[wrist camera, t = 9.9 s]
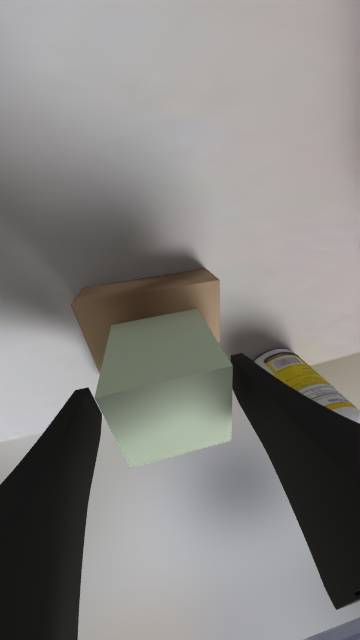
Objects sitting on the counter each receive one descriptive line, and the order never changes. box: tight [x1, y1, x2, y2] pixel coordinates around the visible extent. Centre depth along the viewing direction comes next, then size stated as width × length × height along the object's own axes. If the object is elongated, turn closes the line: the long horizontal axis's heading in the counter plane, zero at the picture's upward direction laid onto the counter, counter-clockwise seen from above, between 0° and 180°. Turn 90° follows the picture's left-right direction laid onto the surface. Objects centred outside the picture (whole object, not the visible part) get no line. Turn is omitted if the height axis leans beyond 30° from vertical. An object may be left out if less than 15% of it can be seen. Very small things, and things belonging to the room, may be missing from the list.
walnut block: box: [71, 269, 220, 373], centre depth 14 cm, size 8×8×3 cm
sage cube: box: [95, 309, 233, 468], centre depth 10 cm, size 5×5×5 cm
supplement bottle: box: [254, 349, 360, 424], centre depth 15 cm, size 5×5×10 cm
